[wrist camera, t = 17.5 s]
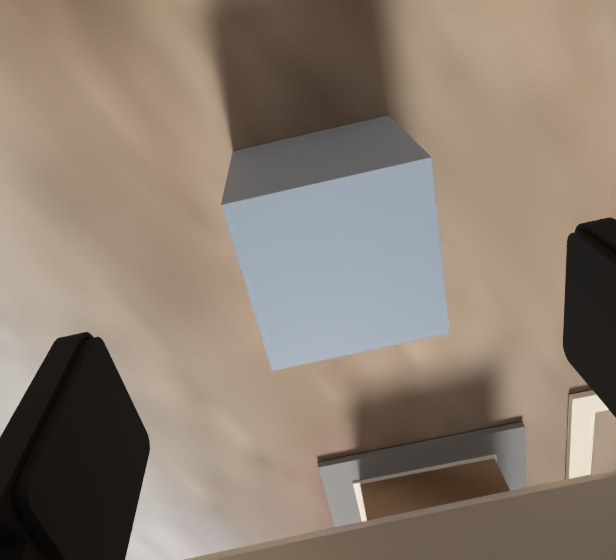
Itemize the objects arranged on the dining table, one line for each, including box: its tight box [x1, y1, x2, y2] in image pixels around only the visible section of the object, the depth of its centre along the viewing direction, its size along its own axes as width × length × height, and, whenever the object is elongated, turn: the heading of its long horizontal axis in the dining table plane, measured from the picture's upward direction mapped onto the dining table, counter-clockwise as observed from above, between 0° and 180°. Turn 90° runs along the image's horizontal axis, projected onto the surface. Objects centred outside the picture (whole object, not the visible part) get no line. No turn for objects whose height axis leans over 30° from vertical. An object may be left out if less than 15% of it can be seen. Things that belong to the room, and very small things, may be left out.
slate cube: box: [221, 115, 450, 371], centre depth 16 cm, size 5×5×5 cm
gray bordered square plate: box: [318, 422, 526, 527], centre depth 25 cm, size 9×9×1 cm
